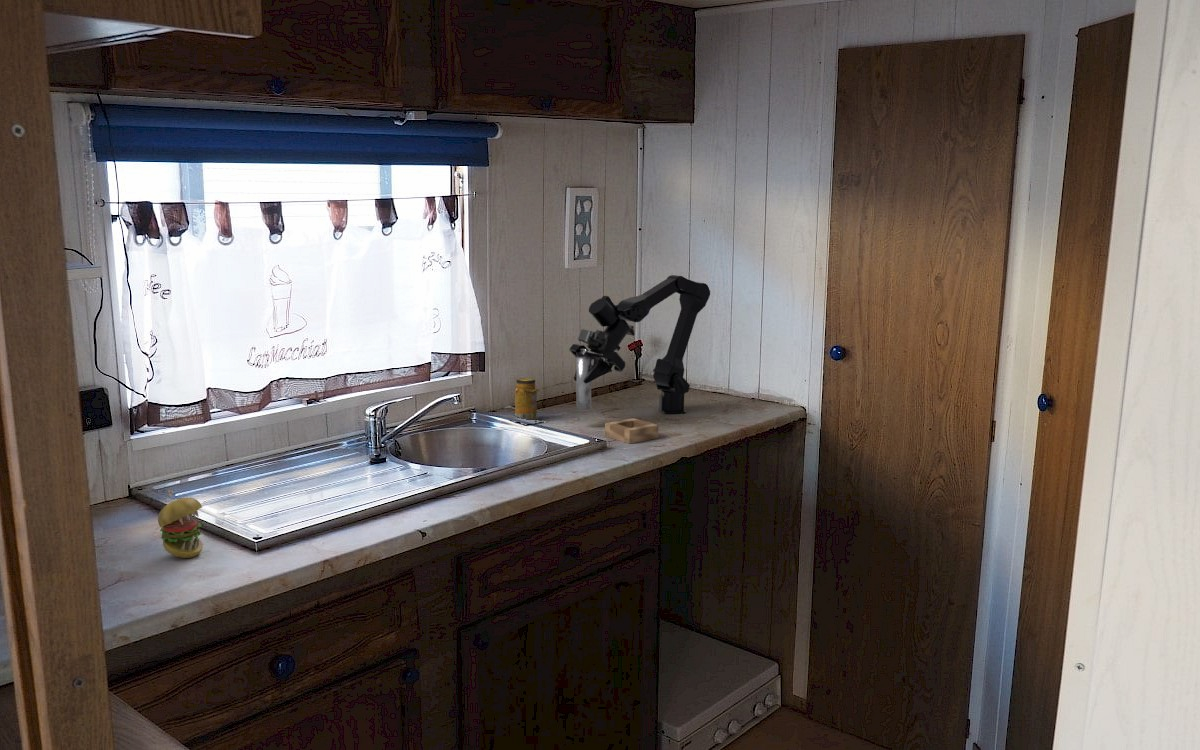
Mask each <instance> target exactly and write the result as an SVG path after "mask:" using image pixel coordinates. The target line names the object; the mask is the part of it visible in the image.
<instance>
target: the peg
mask: <svg viewBox="0 0 1200 750" xmlns="http://www.w3.org/2000/svg"><path fill="white" fill-rule="evenodd" d="M591 364H592V361H591V357H587V356H580V357H577V358H576V369H577V381H576V401H575V402H576V409H577V410H581V411H582V410H590V409H592V381H591V382H589V383H587V384H586V383H584V379H585V377H586V375H587V374H588V372H589V371H590V369H591Z"/></svg>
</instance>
